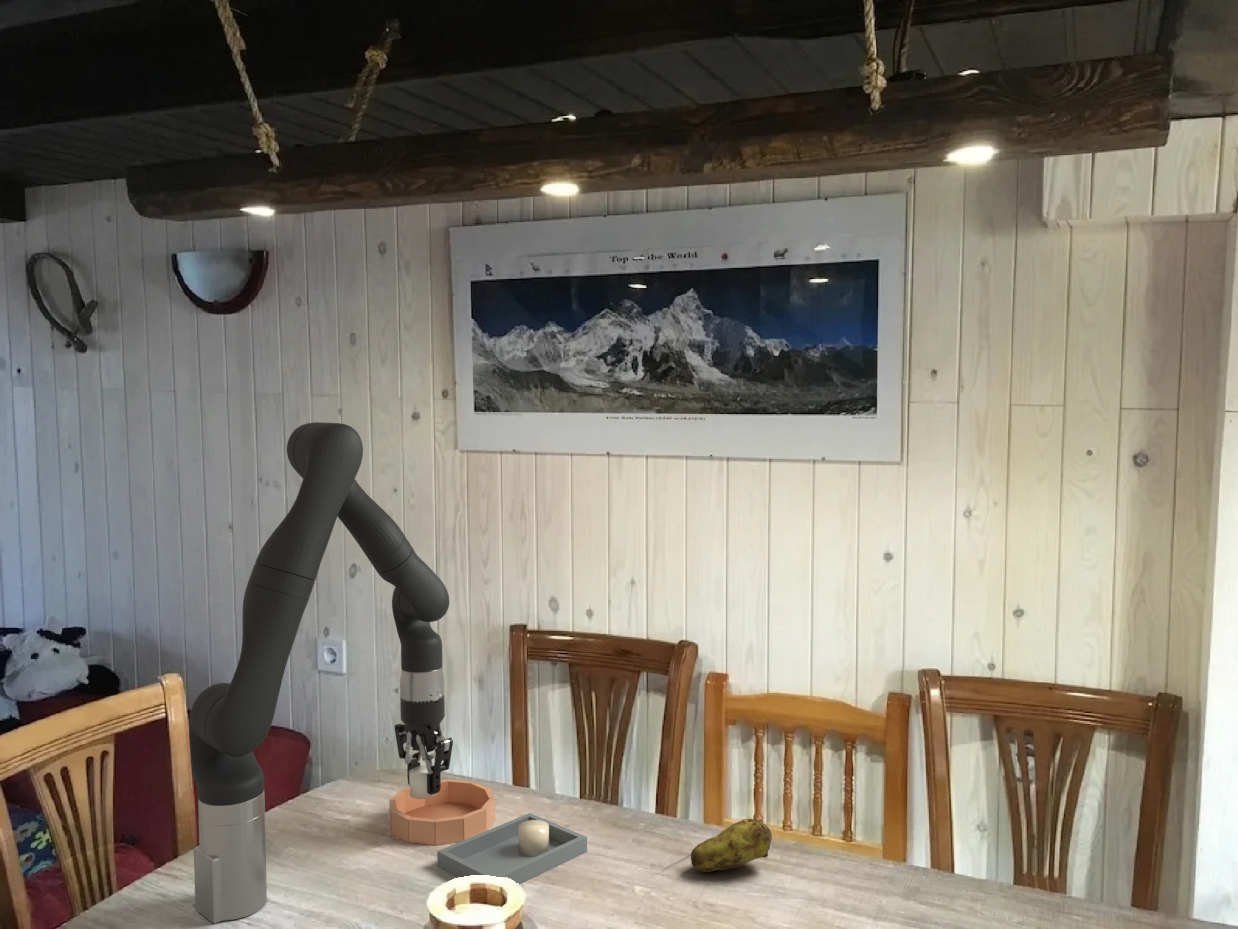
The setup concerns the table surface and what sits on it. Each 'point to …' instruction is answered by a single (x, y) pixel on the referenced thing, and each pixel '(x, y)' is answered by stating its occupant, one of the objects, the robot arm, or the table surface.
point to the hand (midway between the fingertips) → (424, 788)
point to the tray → (510, 852)
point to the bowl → (442, 813)
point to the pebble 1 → (419, 783)
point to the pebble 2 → (533, 838)
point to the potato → (733, 846)
